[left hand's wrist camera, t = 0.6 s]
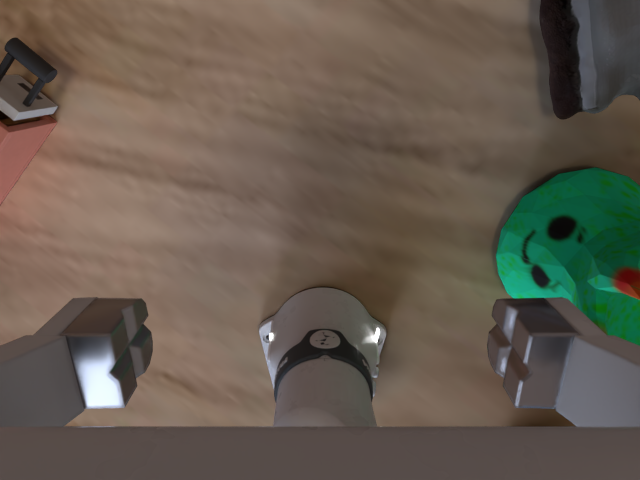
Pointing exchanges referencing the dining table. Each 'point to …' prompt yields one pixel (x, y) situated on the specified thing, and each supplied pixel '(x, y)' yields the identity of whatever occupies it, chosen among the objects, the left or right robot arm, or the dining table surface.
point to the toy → (578, 247)
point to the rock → (591, 52)
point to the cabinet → (20, 149)
